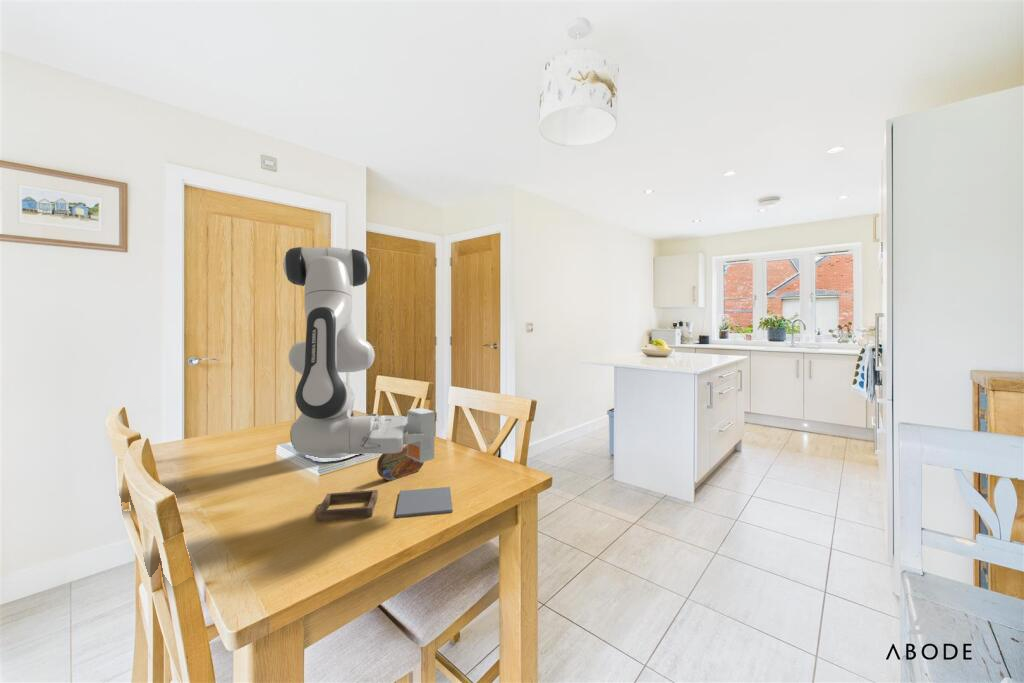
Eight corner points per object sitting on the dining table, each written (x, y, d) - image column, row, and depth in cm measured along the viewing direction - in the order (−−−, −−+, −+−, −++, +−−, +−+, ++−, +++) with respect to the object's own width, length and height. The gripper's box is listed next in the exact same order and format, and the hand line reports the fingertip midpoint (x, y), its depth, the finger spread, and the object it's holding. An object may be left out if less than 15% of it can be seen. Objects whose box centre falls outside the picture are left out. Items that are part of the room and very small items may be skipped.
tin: (381, 484, 109) (381, 454, 108) (375, 481, 111) (375, 452, 110) (425, 469, 120) (425, 442, 120) (419, 466, 122) (419, 440, 122)
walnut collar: (327, 501, 98) (327, 493, 98) (377, 497, 101) (377, 489, 100) (316, 521, 88) (315, 512, 88) (371, 516, 91) (371, 508, 91)
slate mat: (400, 493, 103) (400, 490, 103) (449, 489, 106) (449, 486, 106) (395, 517, 90) (395, 514, 90) (452, 512, 93) (452, 509, 93)
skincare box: (406, 457, 98) (406, 409, 97) (421, 453, 101) (421, 407, 100) (420, 463, 93) (420, 413, 93) (435, 459, 97) (435, 411, 96)
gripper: (357, 433, 84) (423, 430, 87) (372, 412, 104) (425, 410, 107) (357, 462, 84) (423, 458, 87) (372, 435, 104) (425, 433, 107)
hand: (424, 431), depth 97 cm, fingers closed on skincare box, 7 cm apart
